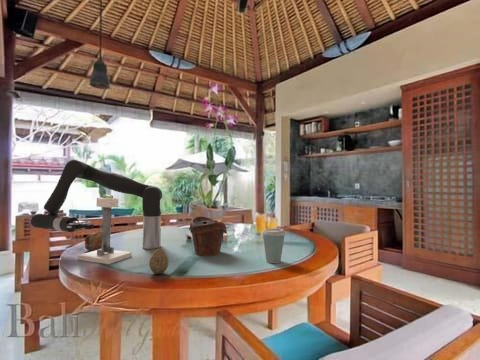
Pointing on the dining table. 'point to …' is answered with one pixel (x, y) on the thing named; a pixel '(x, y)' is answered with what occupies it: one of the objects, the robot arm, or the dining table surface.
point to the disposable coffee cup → (273, 244)
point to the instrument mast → (106, 219)
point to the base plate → (105, 256)
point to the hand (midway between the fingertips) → (92, 226)
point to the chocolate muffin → (207, 235)
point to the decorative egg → (158, 262)
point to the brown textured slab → (93, 241)
